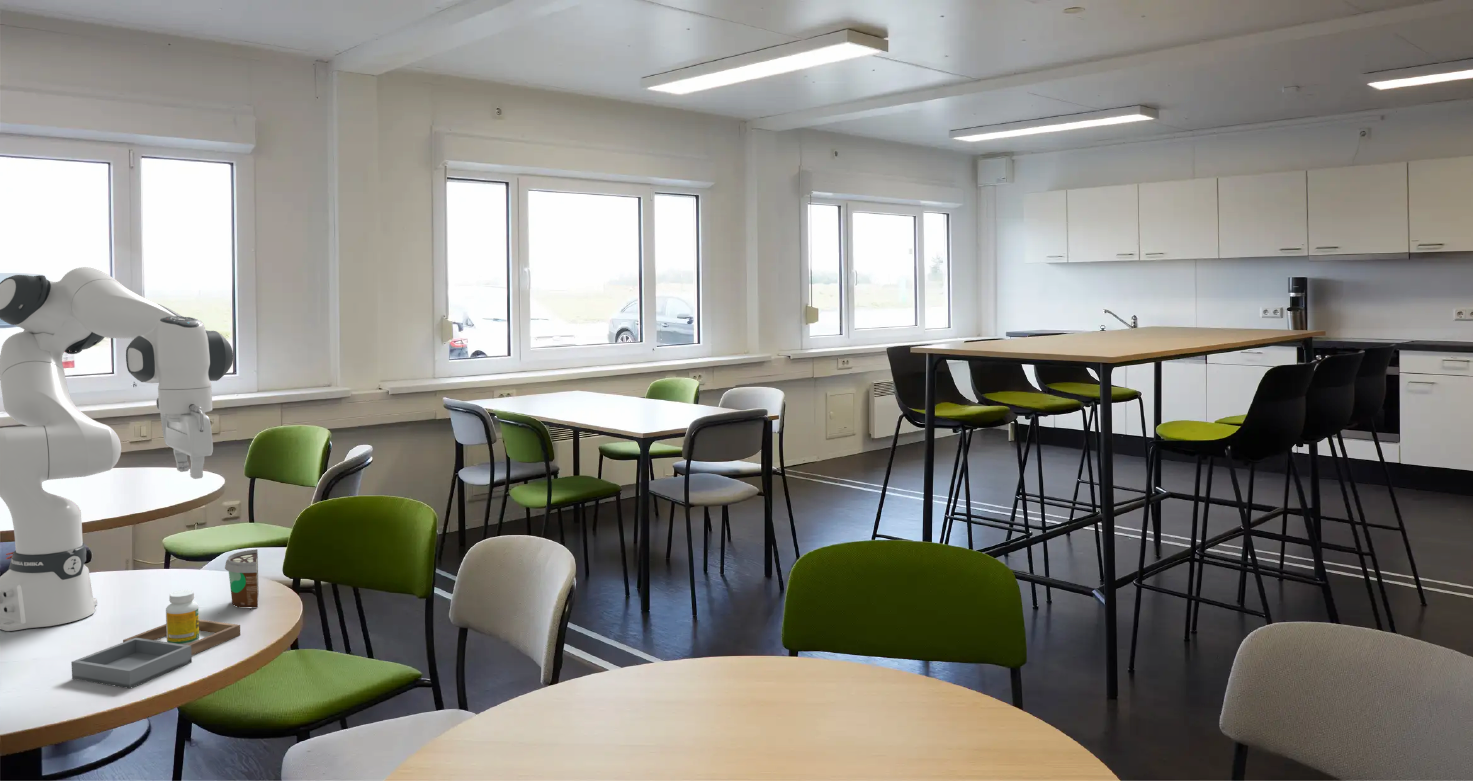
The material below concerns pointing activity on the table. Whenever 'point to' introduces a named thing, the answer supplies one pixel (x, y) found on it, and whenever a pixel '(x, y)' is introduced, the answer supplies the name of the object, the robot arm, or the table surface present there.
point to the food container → (243, 578)
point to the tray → (131, 662)
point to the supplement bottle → (182, 618)
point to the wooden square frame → (220, 629)
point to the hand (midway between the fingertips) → (189, 474)
